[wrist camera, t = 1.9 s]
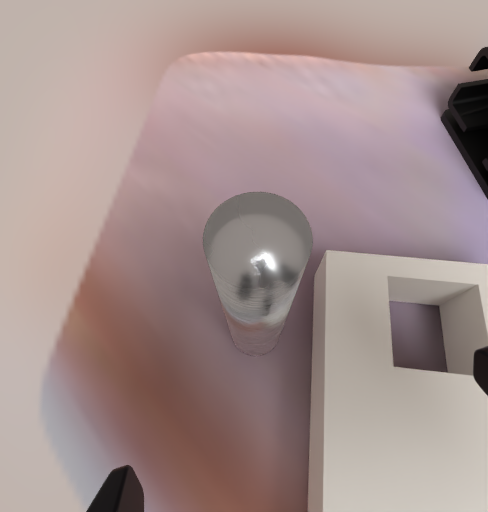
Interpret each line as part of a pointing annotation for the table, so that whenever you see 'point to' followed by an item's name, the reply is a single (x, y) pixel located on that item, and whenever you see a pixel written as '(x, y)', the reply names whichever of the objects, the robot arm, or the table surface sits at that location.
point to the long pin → (257, 264)
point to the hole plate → (396, 389)
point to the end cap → (471, 121)
